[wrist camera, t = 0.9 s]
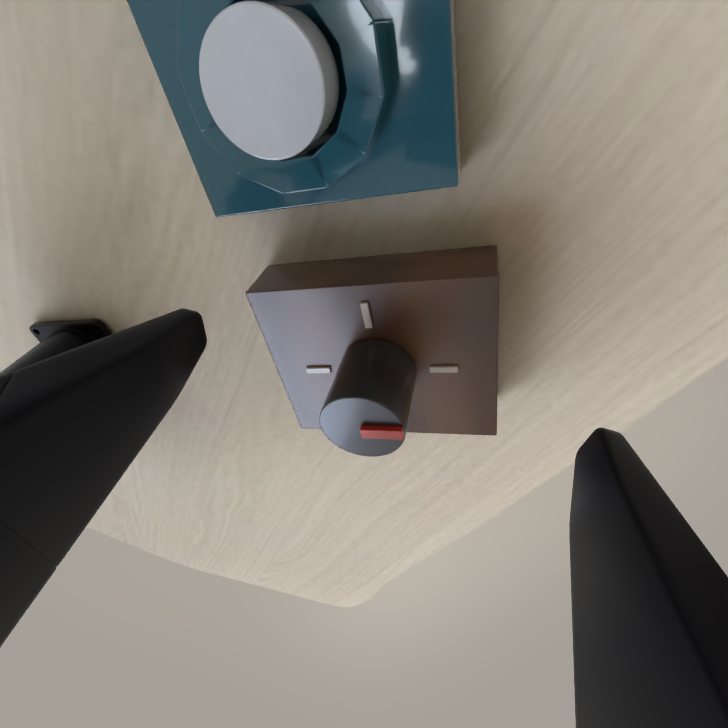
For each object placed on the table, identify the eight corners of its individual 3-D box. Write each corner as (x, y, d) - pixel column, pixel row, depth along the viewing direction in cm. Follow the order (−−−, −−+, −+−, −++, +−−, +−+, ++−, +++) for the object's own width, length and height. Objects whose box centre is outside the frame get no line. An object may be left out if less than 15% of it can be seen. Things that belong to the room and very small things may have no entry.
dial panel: (315, 396, 29) (300, 430, 26) (268, 265, 23) (243, 294, 20) (495, 398, 25) (496, 437, 23) (496, 244, 19) (499, 277, 17)
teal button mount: (236, 202, 21) (195, 233, 18) (144, -45, 15) (62, -59, 12) (460, 170, 17) (456, 202, 15) (447, -155, 12) (436, -210, 9)
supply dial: (350, 396, 23) (328, 459, 20) (334, 339, 21) (306, 401, 18) (420, 397, 22) (409, 464, 19) (411, 337, 20) (397, 402, 17)
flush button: (250, 156, 15) (228, 169, 14) (205, 20, 13) (174, 20, 12) (351, 138, 14) (338, 150, 13) (322, -15, 12) (303, -18, 11)
